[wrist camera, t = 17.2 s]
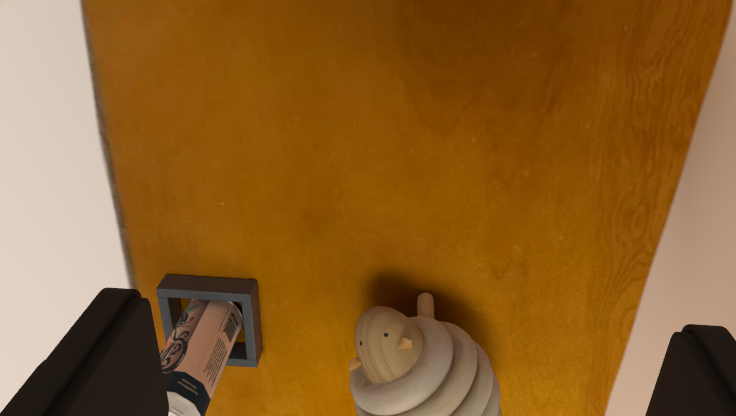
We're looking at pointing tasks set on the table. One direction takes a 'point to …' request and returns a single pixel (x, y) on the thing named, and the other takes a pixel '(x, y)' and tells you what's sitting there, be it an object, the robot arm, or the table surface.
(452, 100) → the table surface
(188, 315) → the beer can
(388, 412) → the toy sheep
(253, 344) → the holder
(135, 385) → the robot arm
